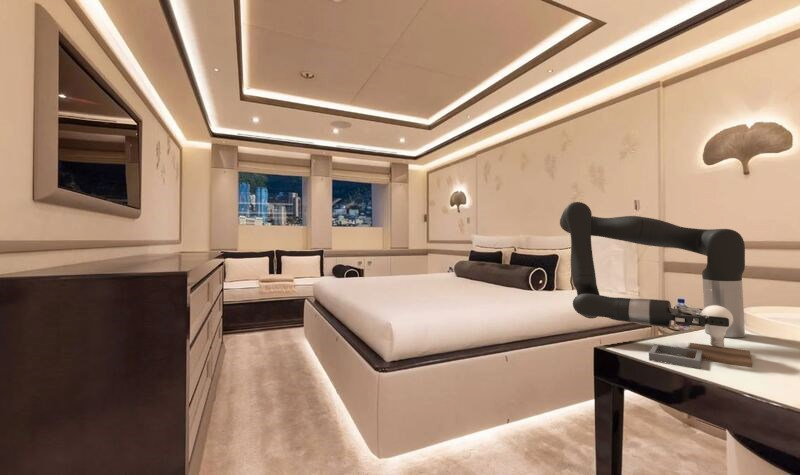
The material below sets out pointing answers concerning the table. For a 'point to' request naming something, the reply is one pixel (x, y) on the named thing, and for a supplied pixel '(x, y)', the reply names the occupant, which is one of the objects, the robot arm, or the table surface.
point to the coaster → (722, 354)
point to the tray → (675, 359)
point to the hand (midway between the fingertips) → (728, 319)
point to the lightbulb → (717, 331)
